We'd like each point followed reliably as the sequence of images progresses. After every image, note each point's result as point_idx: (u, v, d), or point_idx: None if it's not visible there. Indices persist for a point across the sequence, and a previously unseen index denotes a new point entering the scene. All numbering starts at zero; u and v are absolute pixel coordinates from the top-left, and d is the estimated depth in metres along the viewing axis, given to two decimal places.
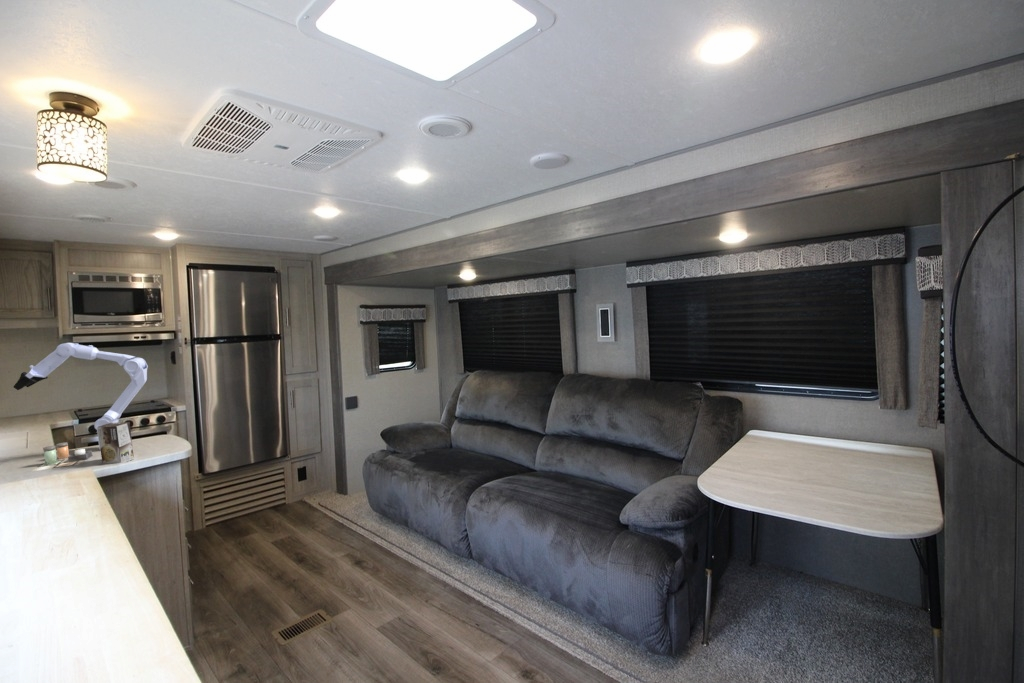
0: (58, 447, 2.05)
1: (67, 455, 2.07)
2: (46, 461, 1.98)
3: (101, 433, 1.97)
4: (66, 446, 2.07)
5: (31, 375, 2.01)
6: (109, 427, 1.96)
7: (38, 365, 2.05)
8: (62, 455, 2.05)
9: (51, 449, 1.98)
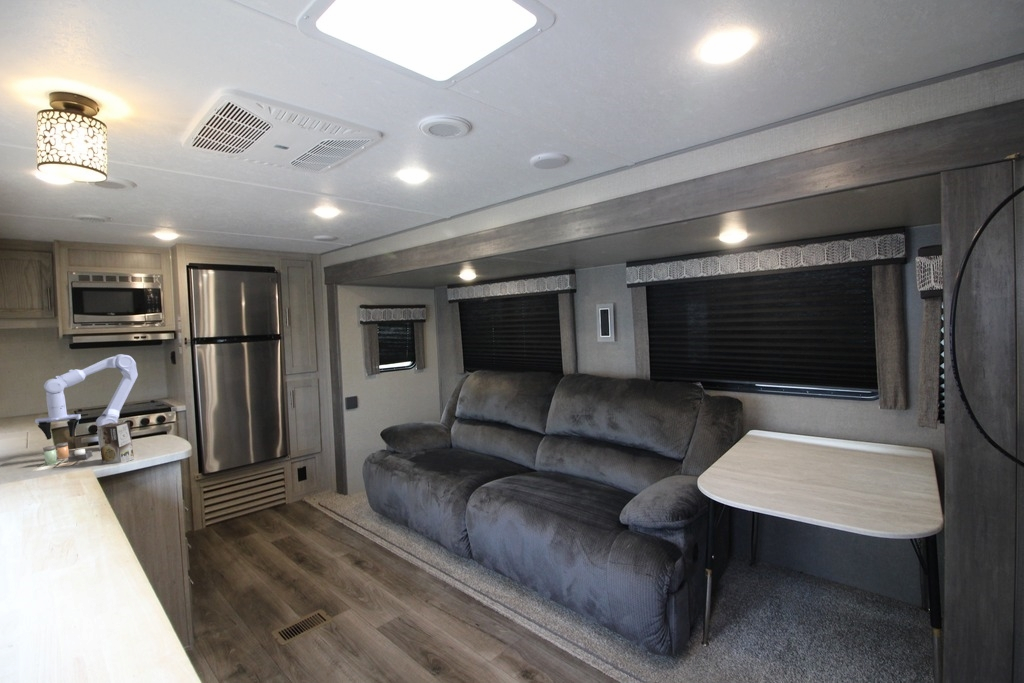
0: (58, 447, 2.05)
1: (67, 455, 2.07)
2: (46, 461, 1.98)
3: (101, 433, 1.97)
4: (66, 446, 2.07)
5: (80, 415, 2.09)
6: (109, 427, 1.96)
7: (62, 411, 2.04)
8: (62, 455, 2.05)
9: (51, 449, 1.98)
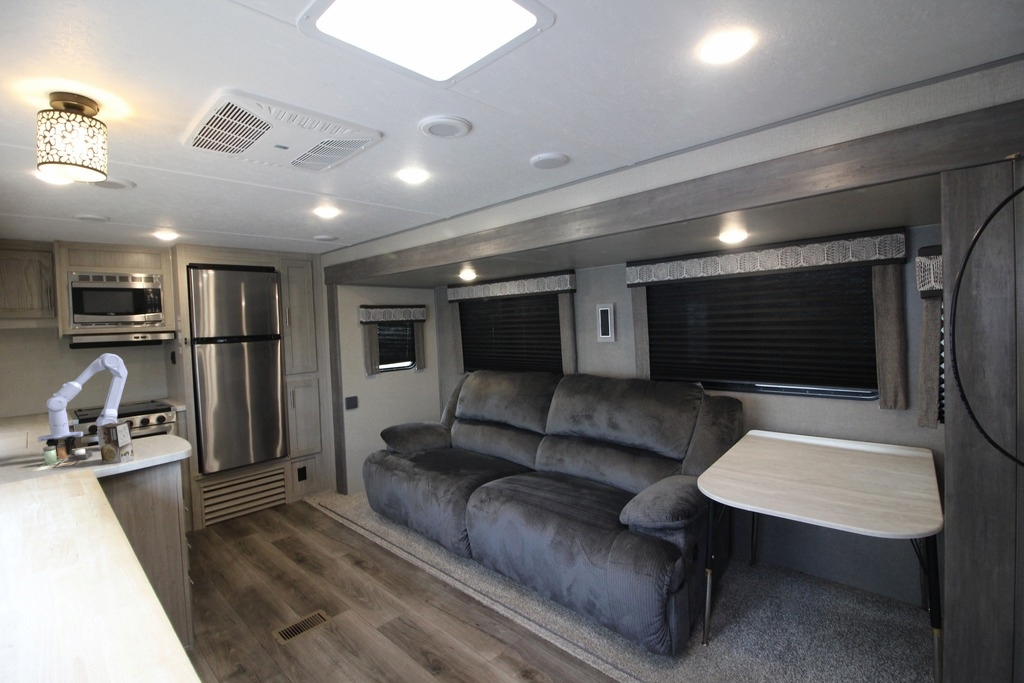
0: (58, 447, 2.05)
1: (67, 455, 2.07)
2: (46, 461, 1.98)
3: (101, 433, 1.97)
4: None
5: (82, 432, 2.09)
6: (109, 427, 1.96)
7: (64, 429, 2.05)
8: (62, 455, 2.05)
9: (51, 449, 1.98)
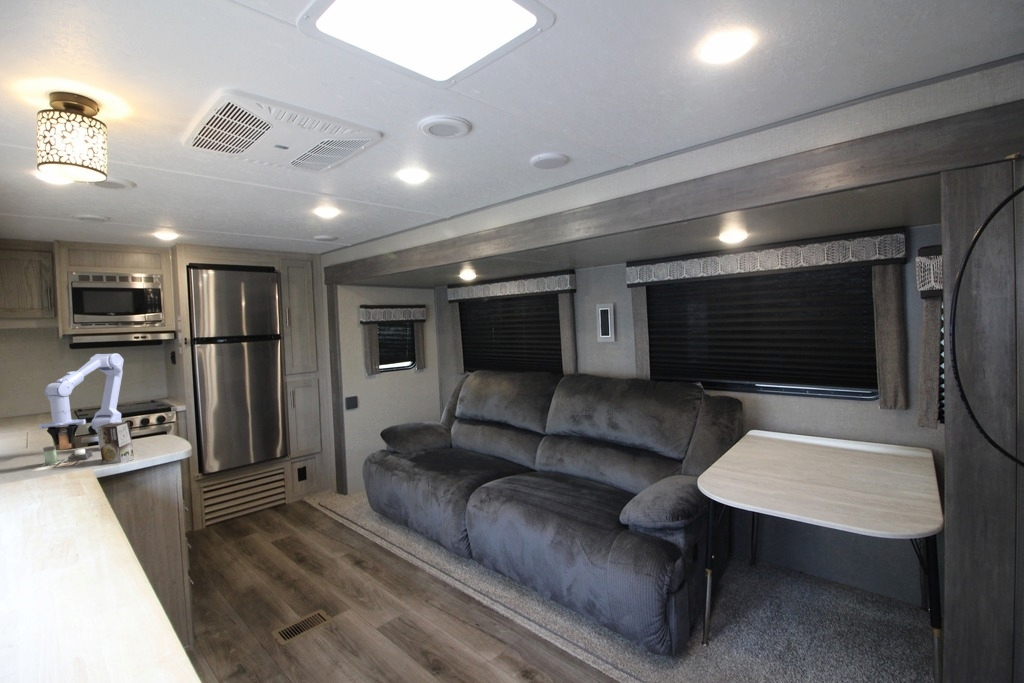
0: (60, 435, 1.96)
1: (69, 444, 1.99)
2: (46, 461, 1.98)
3: (101, 433, 1.97)
4: None
5: (85, 420, 2.01)
6: (109, 427, 1.96)
7: (66, 416, 1.97)
8: (64, 444, 1.97)
9: (51, 449, 1.98)
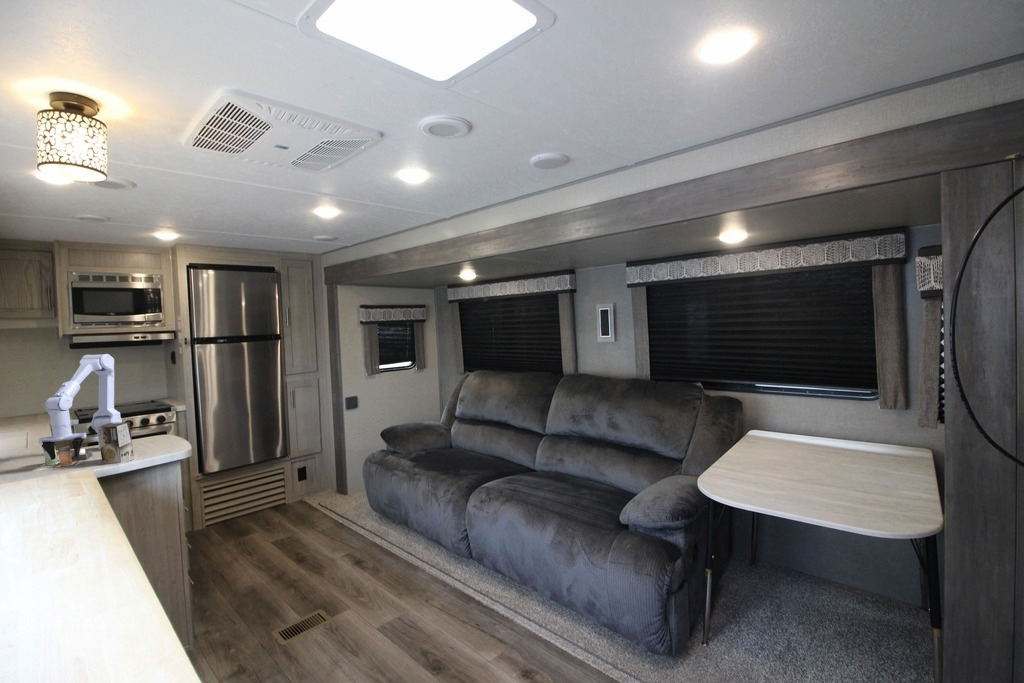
0: (61, 451, 1.95)
1: (70, 460, 1.97)
2: (46, 461, 1.98)
3: (101, 433, 1.97)
4: (69, 450, 1.97)
5: (85, 433, 2.00)
6: (109, 427, 1.96)
7: (66, 430, 1.95)
8: (65, 460, 1.96)
9: None
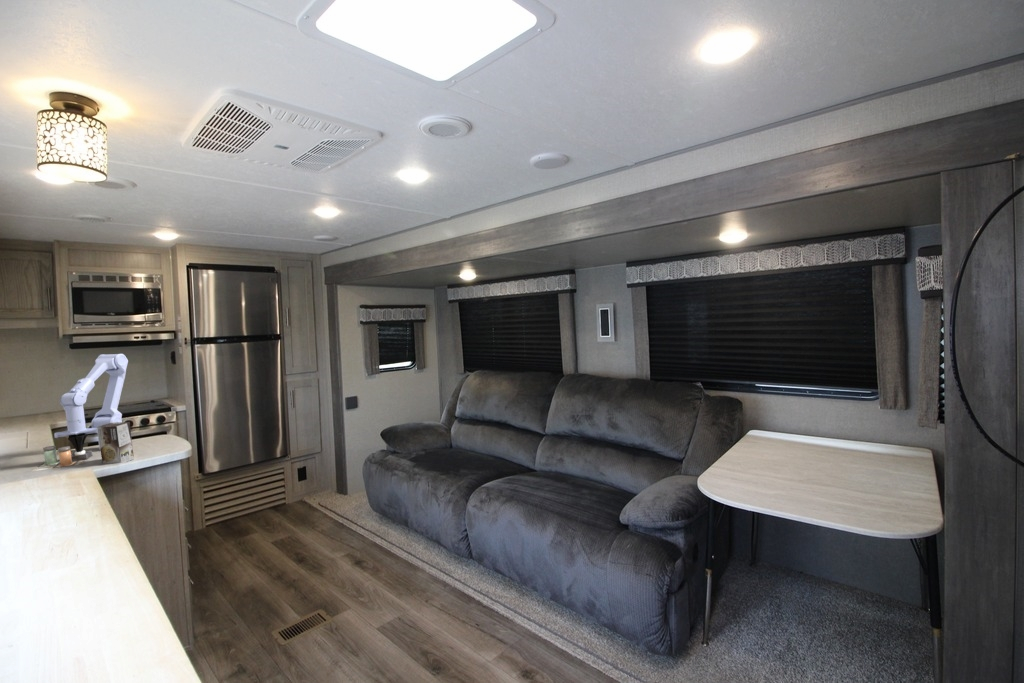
0: (60, 452, 1.95)
1: (70, 460, 1.97)
2: (46, 461, 1.98)
3: (101, 433, 1.97)
4: (69, 450, 1.97)
5: None
6: (109, 427, 1.96)
7: (81, 425, 2.02)
8: (64, 460, 1.96)
9: (51, 449, 1.98)
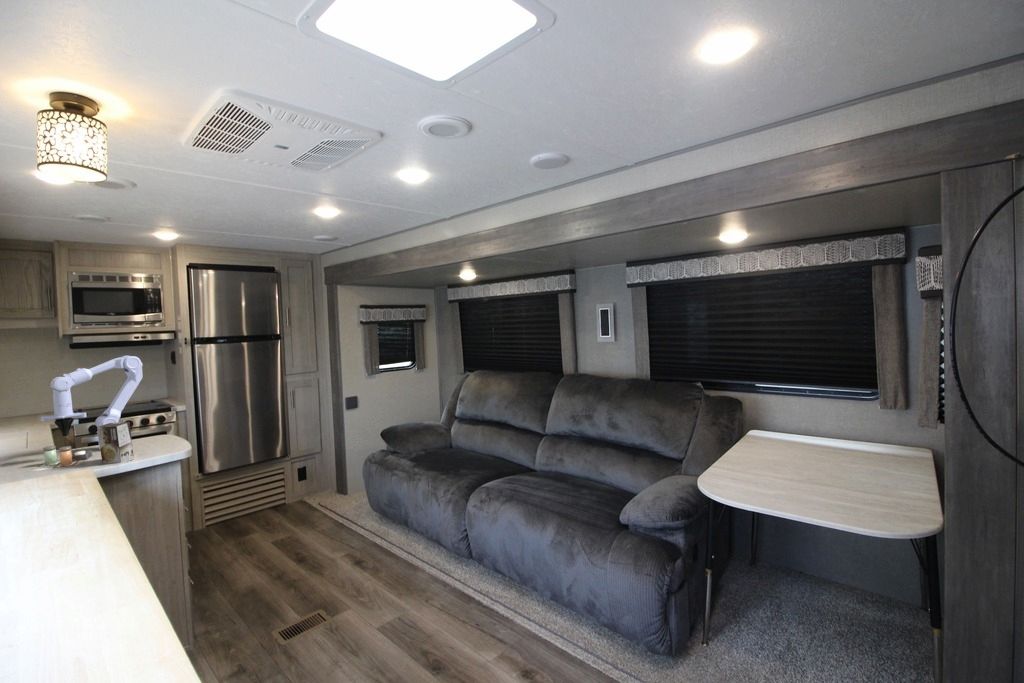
0: (61, 451, 1.95)
1: (70, 460, 1.97)
2: (46, 461, 1.98)
3: (101, 433, 1.97)
4: (69, 450, 1.97)
5: None
6: (109, 427, 1.96)
7: (68, 409, 2.05)
8: (64, 460, 1.96)
9: (51, 449, 1.98)
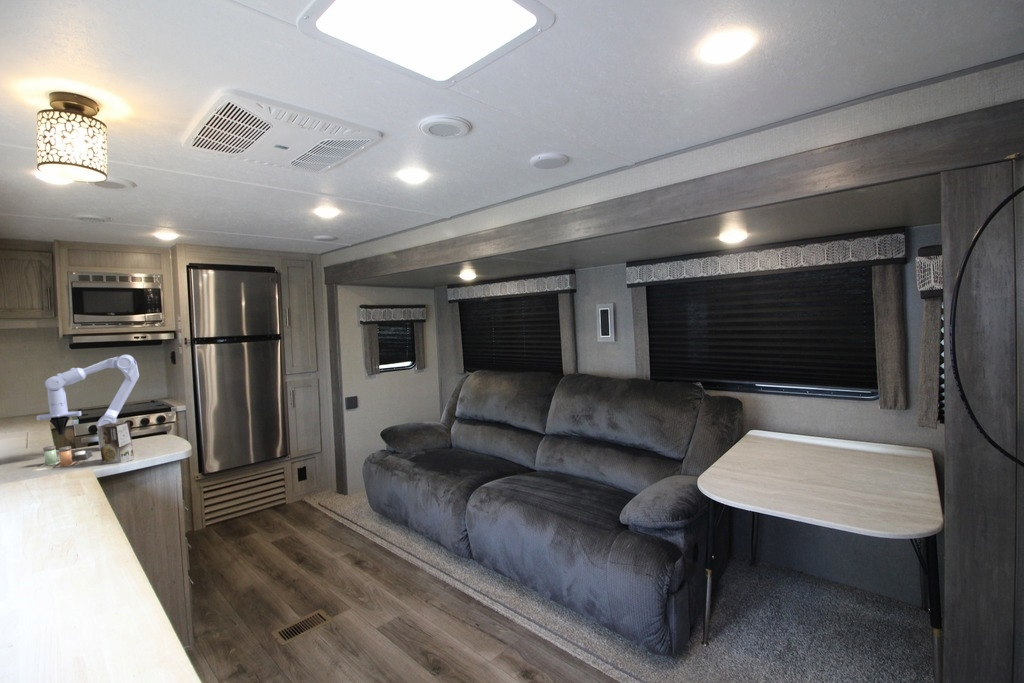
0: (61, 451, 1.95)
1: (70, 460, 1.97)
2: (46, 461, 1.98)
3: (101, 433, 1.97)
4: (69, 450, 1.97)
5: None
6: (109, 427, 1.96)
7: (63, 408, 2.07)
8: (64, 460, 1.96)
9: (51, 449, 1.98)
